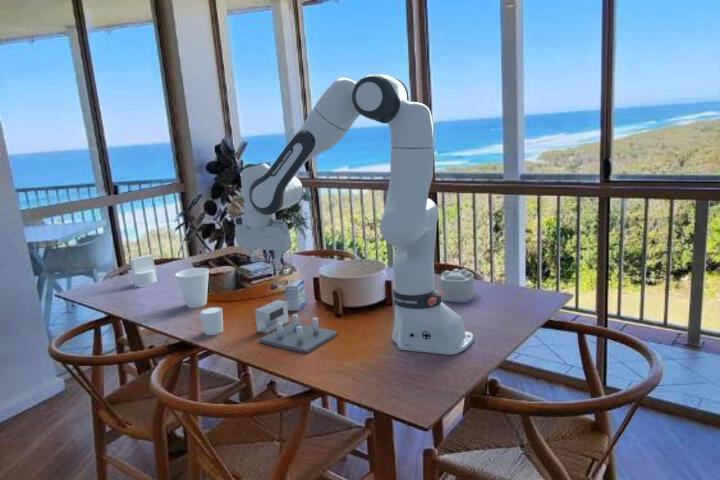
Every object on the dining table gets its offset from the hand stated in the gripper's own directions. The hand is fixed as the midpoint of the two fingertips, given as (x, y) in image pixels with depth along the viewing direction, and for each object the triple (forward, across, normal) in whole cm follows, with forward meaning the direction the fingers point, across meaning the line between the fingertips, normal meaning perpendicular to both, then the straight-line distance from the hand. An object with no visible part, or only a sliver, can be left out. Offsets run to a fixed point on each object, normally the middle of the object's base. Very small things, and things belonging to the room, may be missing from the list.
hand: (265, 262), depth 159 cm
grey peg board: (+20, -14, +4) cm, 25 cm away
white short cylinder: (+21, +15, +11) cm, 28 cm away
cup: (+21, +42, -4) cm, 47 cm away
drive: (+21, 0, 0) cm, 21 cm away
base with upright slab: (+21, +87, -13) cm, 90 cm away
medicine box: (+21, +5, -17) cm, 27 cm away
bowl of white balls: (+21, -41, -48) cm, 66 cm away
